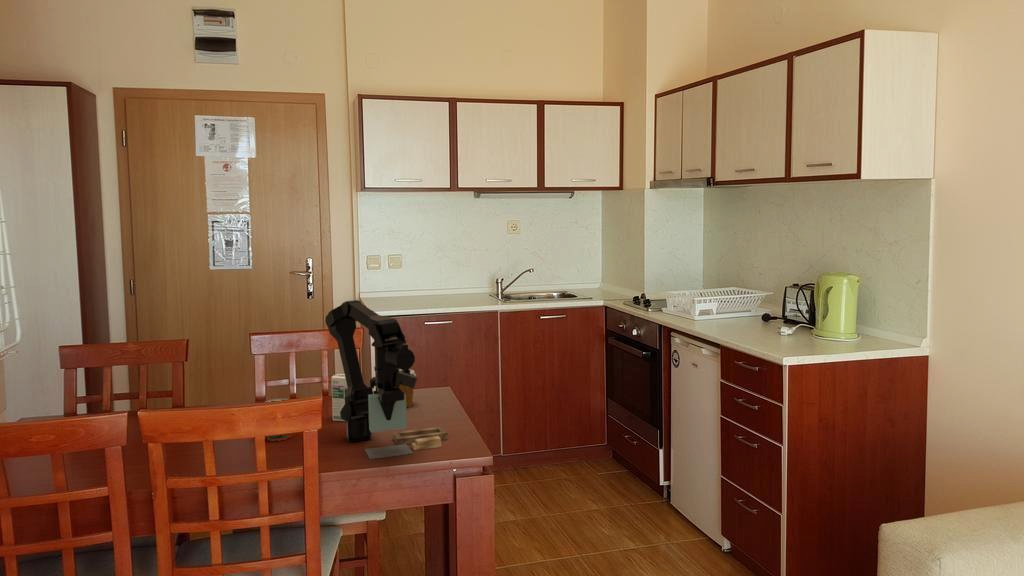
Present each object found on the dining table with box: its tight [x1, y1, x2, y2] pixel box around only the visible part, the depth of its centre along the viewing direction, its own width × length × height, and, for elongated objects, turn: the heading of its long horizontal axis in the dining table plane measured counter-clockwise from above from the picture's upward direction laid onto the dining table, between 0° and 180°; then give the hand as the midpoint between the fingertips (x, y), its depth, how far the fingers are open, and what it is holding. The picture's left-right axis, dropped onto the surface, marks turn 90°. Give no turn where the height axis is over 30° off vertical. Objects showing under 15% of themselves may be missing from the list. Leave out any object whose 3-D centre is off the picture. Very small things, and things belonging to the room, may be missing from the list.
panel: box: [368, 391, 408, 434], centre depth 216 cm, size 10×3×10 cm, turn 110°
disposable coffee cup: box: [394, 368, 417, 409], centre depth 264 cm, size 10×10×12 cm
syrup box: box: [330, 373, 348, 422], centre depth 249 cm, size 6×6×14 cm
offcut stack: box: [411, 436, 442, 451], centre depth 221 cm, size 8×3×2 cm, turn 110°
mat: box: [364, 444, 414, 460], centre depth 217 cm, size 12×8×1 cm, turn 110°
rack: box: [392, 426, 449, 445], centre depth 228 cm, size 15×7×2 cm, turn 110°
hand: (387, 418), depth 216 cm, fingers closed on panel, 3 cm apart
